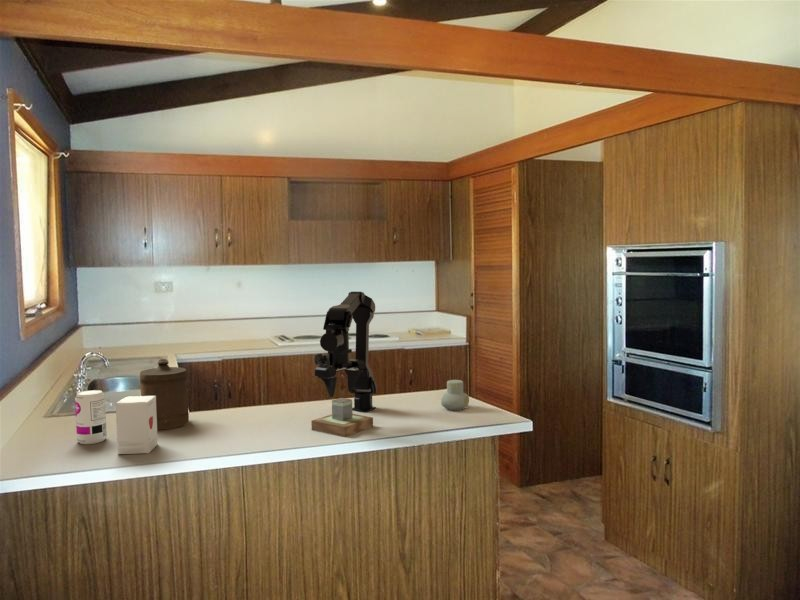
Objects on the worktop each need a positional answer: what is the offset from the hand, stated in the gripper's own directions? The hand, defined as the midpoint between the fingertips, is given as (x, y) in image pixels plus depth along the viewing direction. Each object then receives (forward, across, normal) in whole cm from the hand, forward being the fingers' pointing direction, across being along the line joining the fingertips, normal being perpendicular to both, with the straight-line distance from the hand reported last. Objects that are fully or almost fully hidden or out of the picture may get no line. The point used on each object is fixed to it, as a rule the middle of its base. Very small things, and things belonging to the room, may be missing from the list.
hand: (341, 394), depth 206 cm
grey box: (+8, +1, +1) cm, 8 cm away
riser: (+11, +1, +1) cm, 11 cm away
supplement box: (+11, +51, -34) cm, 62 cm away
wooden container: (+11, +30, -52) cm, 61 cm away
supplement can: (+11, +54, -54) cm, 77 cm away
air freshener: (+11, -41, +18) cm, 46 cm away
